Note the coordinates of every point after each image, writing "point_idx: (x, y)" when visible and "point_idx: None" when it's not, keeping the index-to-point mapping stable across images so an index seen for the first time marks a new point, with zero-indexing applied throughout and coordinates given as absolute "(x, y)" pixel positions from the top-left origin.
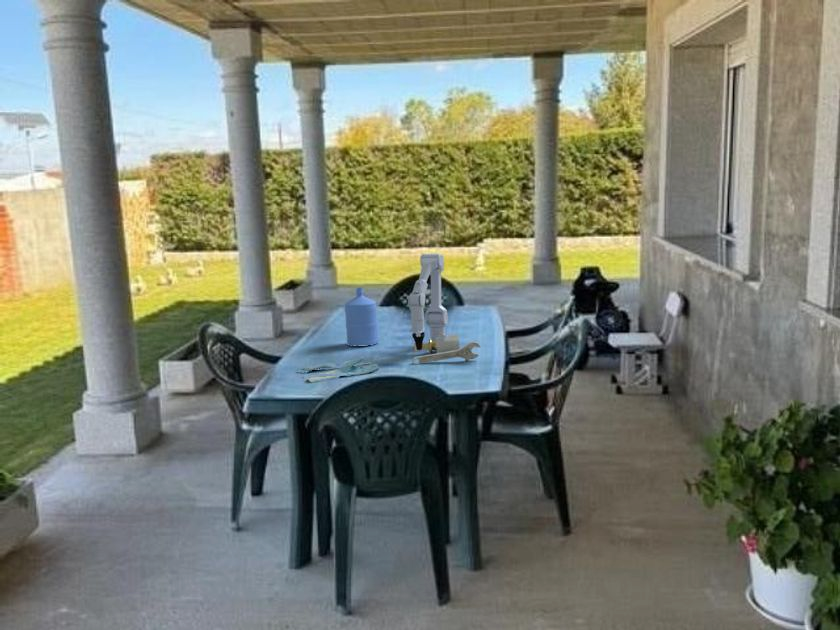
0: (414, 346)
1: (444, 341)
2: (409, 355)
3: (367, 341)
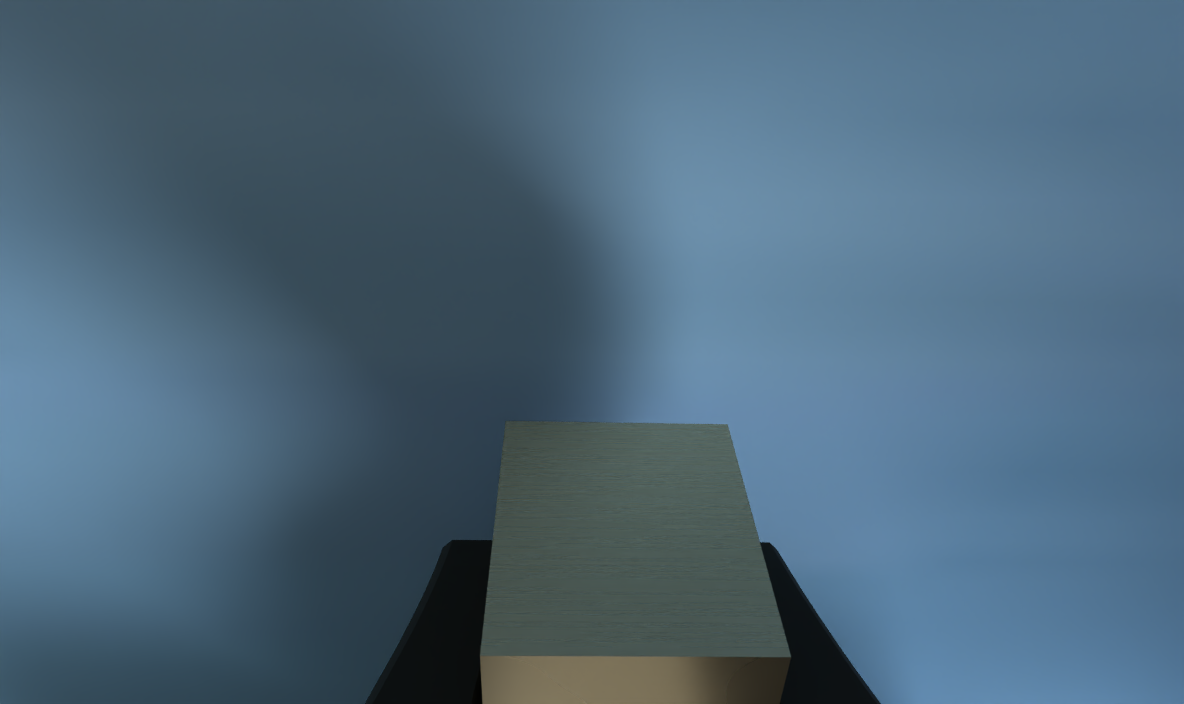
0: (495, 578)
1: None
2: (517, 152)
3: None
